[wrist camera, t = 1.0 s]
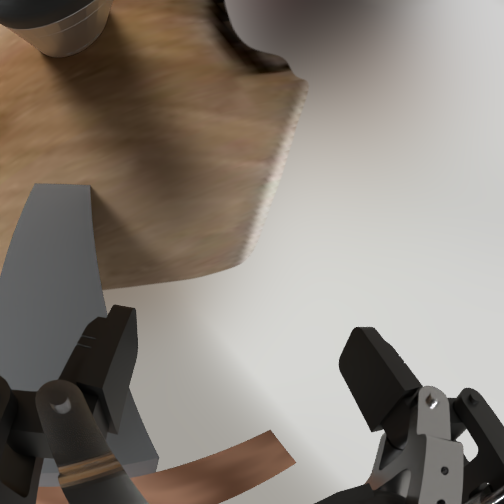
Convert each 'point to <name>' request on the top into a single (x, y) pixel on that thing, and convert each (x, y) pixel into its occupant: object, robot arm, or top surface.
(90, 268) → the pedestal
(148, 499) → the batten
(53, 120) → the top surface
